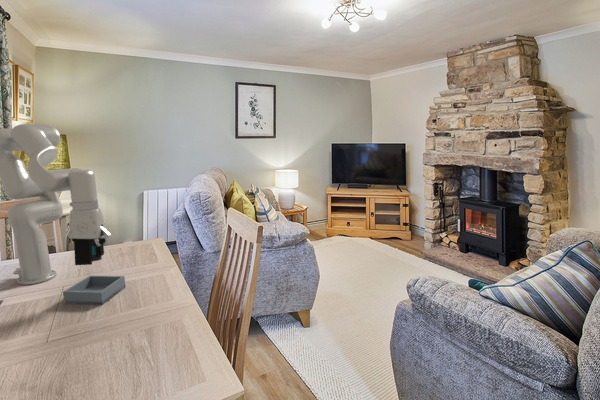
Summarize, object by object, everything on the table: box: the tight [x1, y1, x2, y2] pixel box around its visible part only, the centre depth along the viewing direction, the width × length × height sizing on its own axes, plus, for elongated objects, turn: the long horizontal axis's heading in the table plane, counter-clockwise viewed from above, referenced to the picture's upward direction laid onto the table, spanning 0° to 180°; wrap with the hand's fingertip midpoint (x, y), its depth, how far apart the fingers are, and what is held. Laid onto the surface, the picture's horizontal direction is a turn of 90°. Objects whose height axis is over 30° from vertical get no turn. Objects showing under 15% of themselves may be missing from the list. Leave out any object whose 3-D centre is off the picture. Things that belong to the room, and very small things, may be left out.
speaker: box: [73, 238, 103, 266], centre depth 116 cm, size 8×6×10 cm
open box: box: [62, 275, 127, 306], centre depth 119 cm, size 14×14×4 cm
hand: (91, 255), depth 117 cm, fingers closed on speaker, 5 cm apart
